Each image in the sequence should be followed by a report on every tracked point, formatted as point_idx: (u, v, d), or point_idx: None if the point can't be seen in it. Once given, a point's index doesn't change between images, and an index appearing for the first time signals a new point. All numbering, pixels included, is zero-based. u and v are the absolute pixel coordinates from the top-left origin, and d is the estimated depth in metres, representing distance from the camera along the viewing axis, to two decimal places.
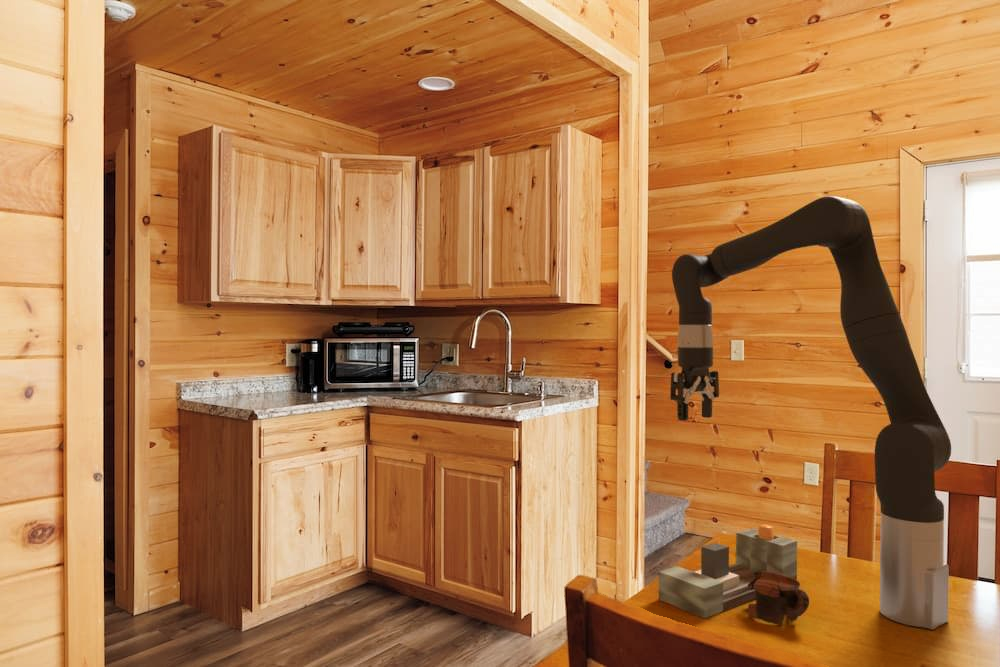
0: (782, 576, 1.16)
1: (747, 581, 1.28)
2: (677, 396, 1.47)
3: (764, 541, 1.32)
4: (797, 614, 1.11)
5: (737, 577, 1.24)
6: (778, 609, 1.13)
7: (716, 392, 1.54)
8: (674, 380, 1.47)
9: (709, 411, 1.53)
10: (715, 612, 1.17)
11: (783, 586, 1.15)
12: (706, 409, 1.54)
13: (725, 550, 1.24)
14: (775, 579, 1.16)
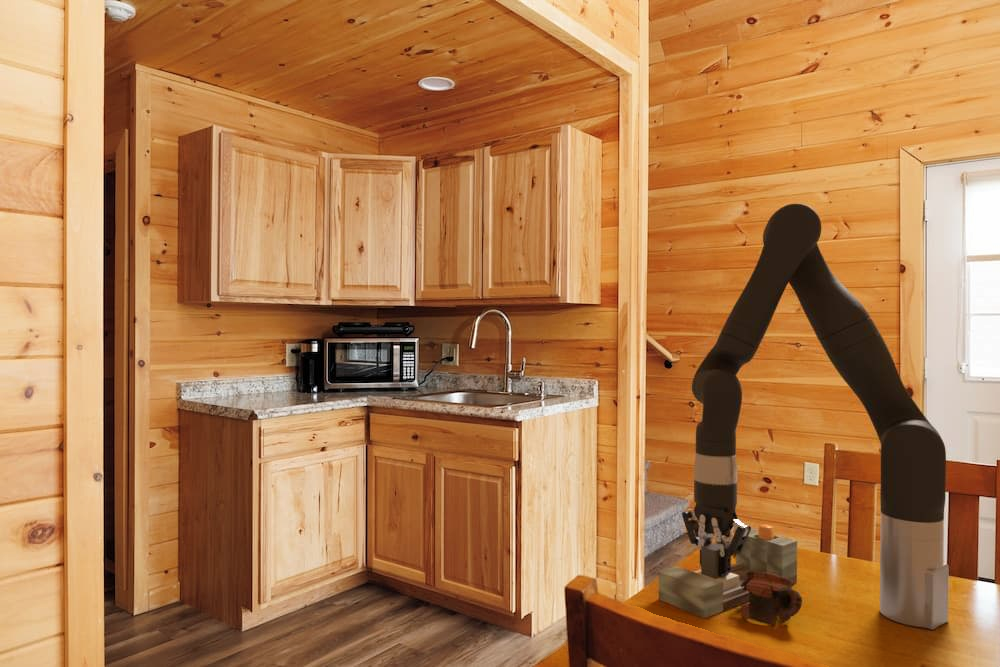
0: (775, 576, 1.16)
1: None
2: (738, 549, 1.22)
3: (764, 541, 1.32)
4: (790, 614, 1.11)
5: (737, 577, 1.24)
6: (771, 609, 1.13)
7: None
8: (743, 536, 1.20)
9: None
10: (715, 612, 1.17)
11: (776, 586, 1.15)
12: None
13: None
14: (768, 580, 1.16)
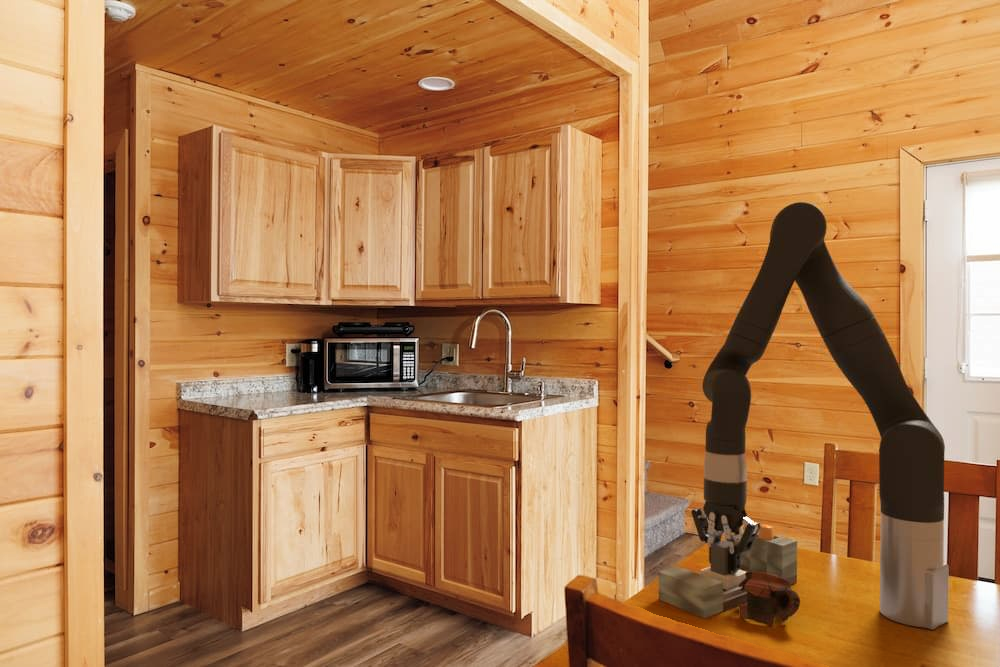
0: (773, 576, 1.16)
1: None
2: (748, 546, 1.23)
3: (764, 541, 1.32)
4: (788, 614, 1.11)
5: None
6: (769, 609, 1.13)
7: None
8: (753, 533, 1.21)
9: None
10: (715, 612, 1.17)
11: (774, 586, 1.14)
12: None
13: None
14: (766, 580, 1.16)
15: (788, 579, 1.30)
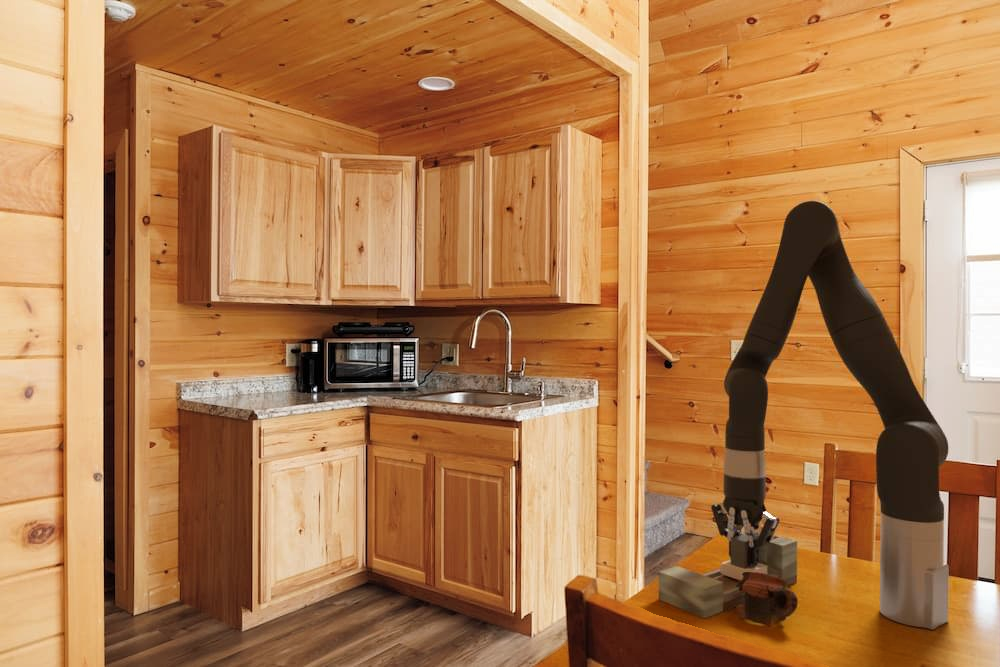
0: (770, 576, 1.16)
1: None
2: (767, 540, 1.27)
3: None
4: (786, 614, 1.11)
5: (765, 567, 1.29)
6: (767, 609, 1.13)
7: None
8: (772, 528, 1.25)
9: None
10: (715, 612, 1.17)
11: (772, 586, 1.14)
12: None
13: None
14: (764, 580, 1.16)
15: (788, 579, 1.30)
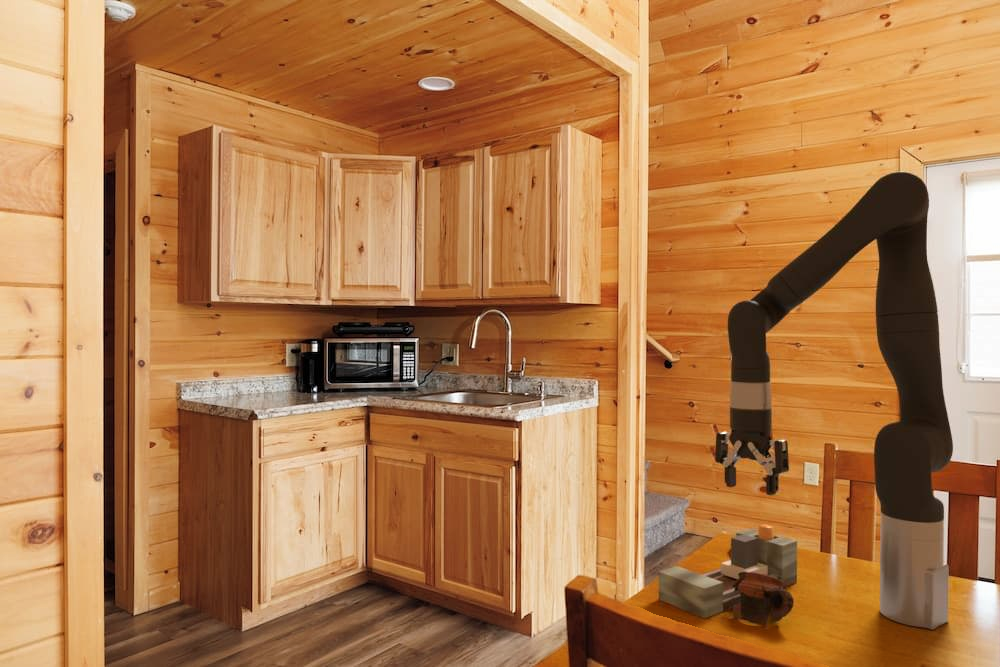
0: (766, 577, 1.16)
1: None
2: (786, 467, 1.26)
3: (764, 541, 1.32)
4: (782, 615, 1.11)
5: (765, 567, 1.29)
6: (763, 609, 1.13)
7: None
8: (783, 449, 1.25)
9: (735, 478, 1.35)
10: (715, 612, 1.17)
11: (767, 587, 1.14)
12: (733, 477, 1.34)
13: (754, 541, 1.29)
14: (760, 580, 1.16)
15: (788, 579, 1.30)
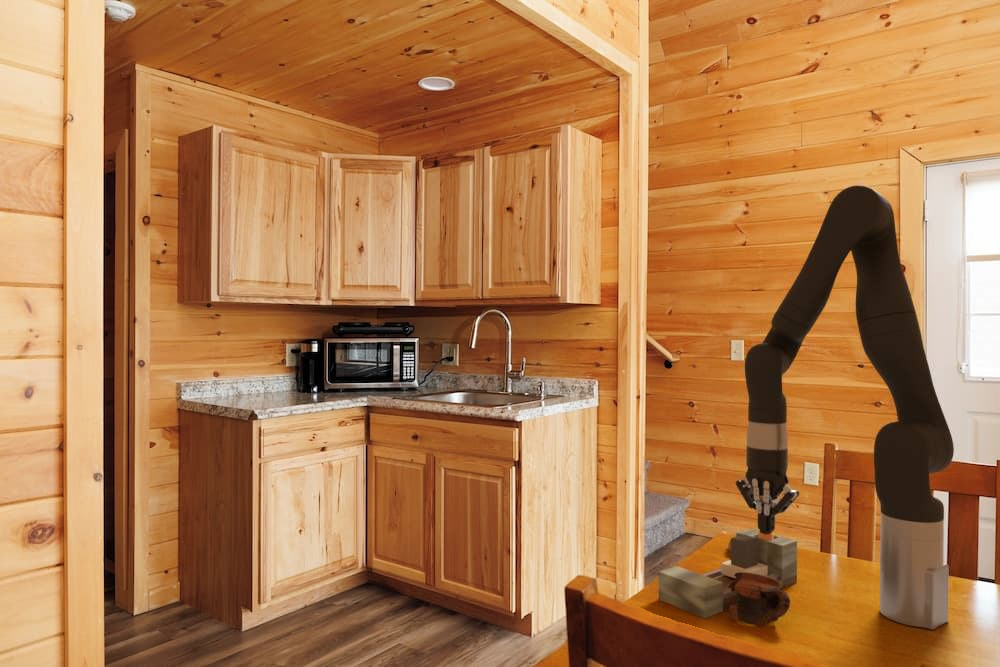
0: (763, 577, 1.16)
1: None
2: (782, 508, 1.32)
3: (764, 541, 1.32)
4: (778, 615, 1.11)
5: (765, 567, 1.29)
6: (759, 610, 1.12)
7: None
8: (791, 500, 1.30)
9: None
10: (715, 612, 1.17)
11: (764, 587, 1.14)
12: None
13: (754, 541, 1.29)
14: (756, 580, 1.15)
15: (788, 579, 1.30)
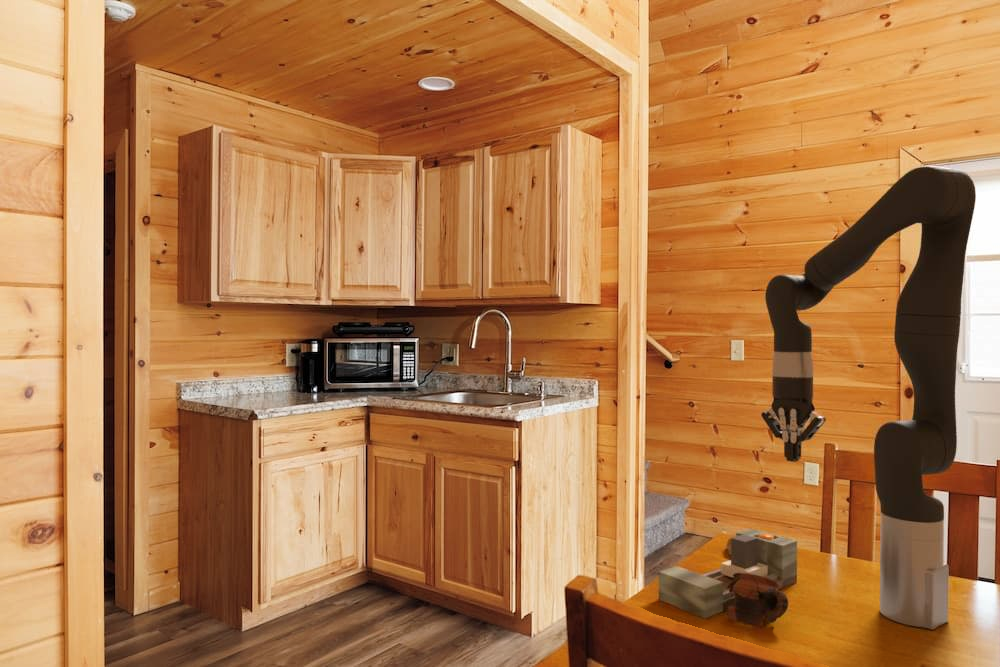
0: (761, 578, 1.15)
1: None
2: (809, 435, 1.35)
3: (764, 541, 1.32)
4: (776, 616, 1.11)
5: (765, 567, 1.29)
6: (757, 611, 1.12)
7: None
8: (817, 426, 1.33)
9: None
10: (715, 612, 1.17)
11: (762, 588, 1.14)
12: None
13: (754, 541, 1.29)
14: (754, 581, 1.15)
15: (788, 579, 1.30)
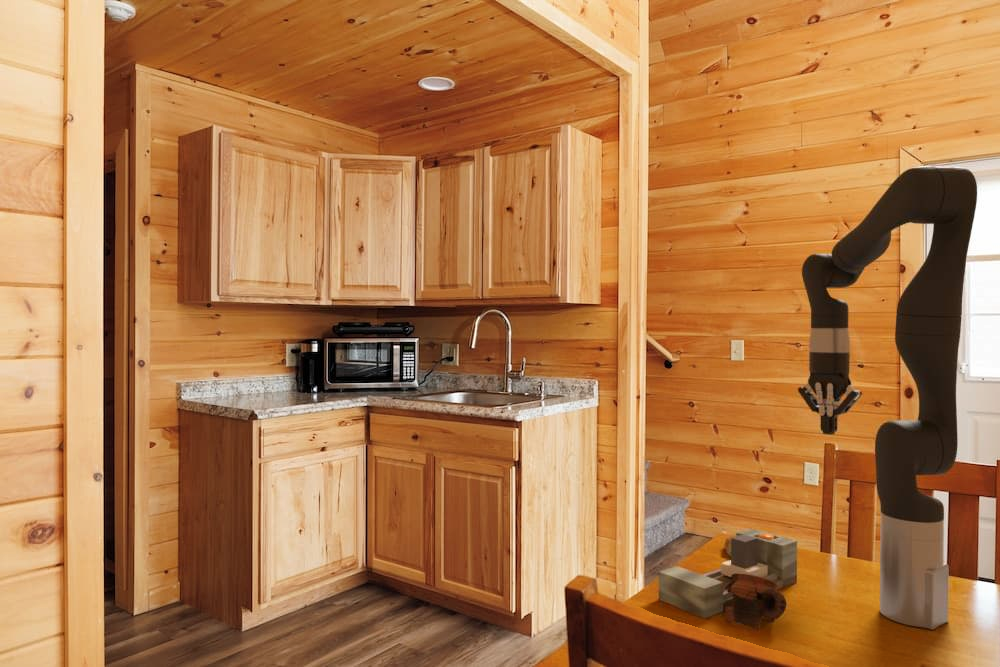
0: (759, 578, 1.15)
1: None
2: (845, 409, 1.40)
3: (764, 541, 1.32)
4: (774, 617, 1.10)
5: (765, 567, 1.29)
6: (755, 611, 1.12)
7: None
8: (854, 399, 1.37)
9: None
10: (715, 612, 1.17)
11: (760, 588, 1.14)
12: None
13: (754, 541, 1.29)
14: (753, 582, 1.15)
15: (788, 579, 1.30)
